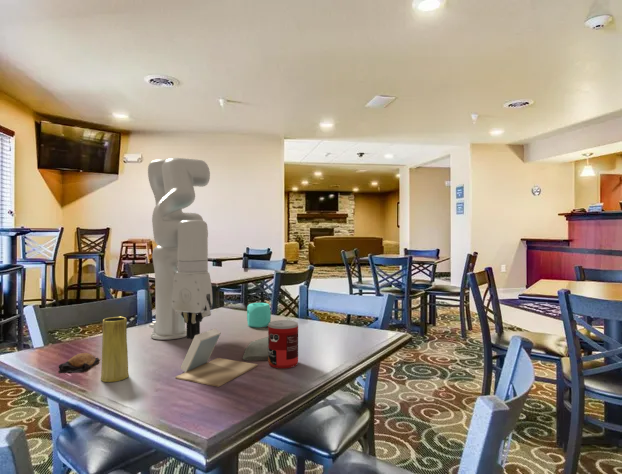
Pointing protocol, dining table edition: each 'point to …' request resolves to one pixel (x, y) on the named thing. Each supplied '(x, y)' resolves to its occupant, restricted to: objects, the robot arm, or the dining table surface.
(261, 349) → the stone slab
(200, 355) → the tile
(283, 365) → the canned food
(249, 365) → the mat
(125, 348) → the vase
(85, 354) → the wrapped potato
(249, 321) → the decorative dice
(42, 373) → the dining table surface
